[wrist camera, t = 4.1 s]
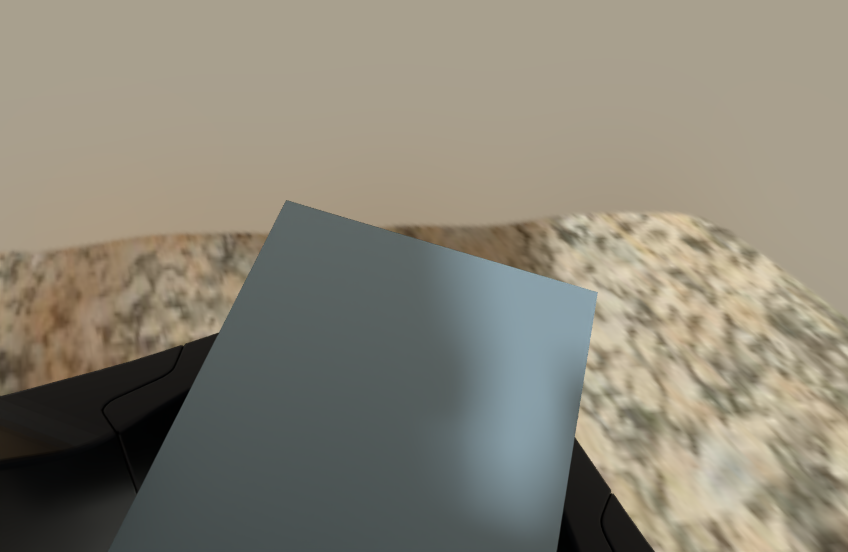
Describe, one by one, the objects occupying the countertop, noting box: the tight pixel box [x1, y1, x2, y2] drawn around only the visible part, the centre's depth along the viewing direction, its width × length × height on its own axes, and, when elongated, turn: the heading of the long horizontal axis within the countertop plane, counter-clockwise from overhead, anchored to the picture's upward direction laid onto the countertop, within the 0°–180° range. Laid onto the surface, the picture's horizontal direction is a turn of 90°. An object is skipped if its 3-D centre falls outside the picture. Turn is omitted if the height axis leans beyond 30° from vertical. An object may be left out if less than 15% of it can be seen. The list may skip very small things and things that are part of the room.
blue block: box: [108, 200, 598, 552], centre depth 10 cm, size 5×5×11 cm
